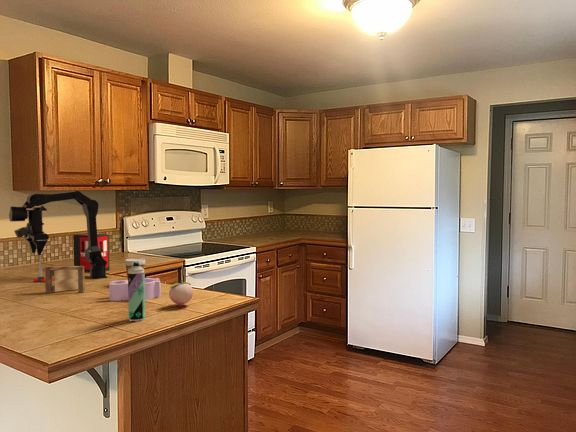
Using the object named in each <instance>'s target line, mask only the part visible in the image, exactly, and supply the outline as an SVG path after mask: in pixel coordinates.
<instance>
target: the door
mask: <svg viewBox="0 0 576 432" xmlns="http://www.w3.org/2000/svg"><path fill="white" fill-rule="evenodd" d="M52 277H53V278H54V280H53V285H52V291H53V292H64V291H73V290H78V270H52Z"/></svg>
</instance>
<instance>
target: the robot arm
mask: <svg viewBox="0 0 576 432" xmlns="http://www.w3.org/2000/svg"><path fill="white" fill-rule="evenodd" d="M68 200H75V201H76V203H78V204H79V205H81V206H82V210H83V214H84V216H85V217H86V218H85V219H86V231H87V233H88V248H87V249H84V251H85V257H86V259H87V261H89V262H90V264H91V265H92V266H91V269H90V272H89V277H90V278H92V279H94V280H98V279H104V278H105V279H106V278H108V275H106V274H107V273H106V272H107V271H106V264H107V261H105V260H104V259H103V258H102V254H101V251H100V248H99V246H98V238H97V234H98V227H97V215H98V212H99V202H98V201H97V200H95V199H91V197H88V196H87V195H85V194H83V193H82V192H81V191H79V190H73V191H66V192H58V193H49V194H47V193H46V194H45V193H29V194H28V196H27V197H26V201H25V202H24V203H23V204H22V206H9V207H10V208H9V213H8V220H9V222H12V223H13V222H25V221H26V220H28V221H27V223H26V226H24V227H23V226H22V227H20V228H17V229H16V230H15V229H14V234H15V237H16V238H24V240H26V241H27V242H28V244H29V247H30V251H31V253H32V254H35V253H36V254H37V256H42V253H43V250H44V248H45V246H46V245H47V242H49V241H48V240H49V239H50V236H49V234H47V233H45V231H44V230H43V229H44V228H43V226H44V225H45V223H44V222H43V212H44V211H45V212H46V211H48V209H47V208H46V207H45V206H44V205H46V204H49V203H53V202H61V201H68Z"/></svg>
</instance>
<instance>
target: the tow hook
mask: <svg viewBox="0 0 576 432" xmlns="http://www.w3.org/2000/svg"><path fill="white" fill-rule="evenodd" d="M42 257H43V255H39V261H38V265H39V266H38V267H39V268H38V276H37V278H34V279H33V282H35V283H45V276H43V259H42ZM52 282H54V276H52Z"/></svg>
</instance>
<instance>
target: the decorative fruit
mask: <svg viewBox="0 0 576 432" xmlns="http://www.w3.org/2000/svg"><path fill="white" fill-rule="evenodd" d="M193 294H194V288H193V287H192V284H191V283H190V282H187V281H182V280H180V282H179V283H177V282H176V283H173V284H172V285H170V289H169V291H168V296H169V299H170V300H171V301H172V303H174V304H176V305H178V306H180V305H182V306H183V305H185V304H187V303H188V302H190V301H191V300H192V298H193Z"/></svg>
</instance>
